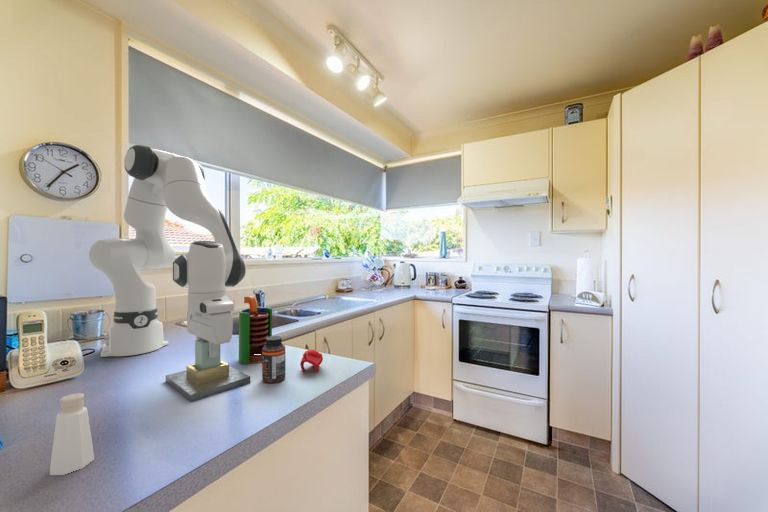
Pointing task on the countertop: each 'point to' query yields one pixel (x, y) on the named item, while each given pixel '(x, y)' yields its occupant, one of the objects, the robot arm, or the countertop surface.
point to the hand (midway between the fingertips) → (207, 354)
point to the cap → (311, 359)
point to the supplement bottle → (273, 360)
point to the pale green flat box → (205, 355)
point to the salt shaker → (71, 437)
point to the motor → (253, 331)
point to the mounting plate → (206, 380)
